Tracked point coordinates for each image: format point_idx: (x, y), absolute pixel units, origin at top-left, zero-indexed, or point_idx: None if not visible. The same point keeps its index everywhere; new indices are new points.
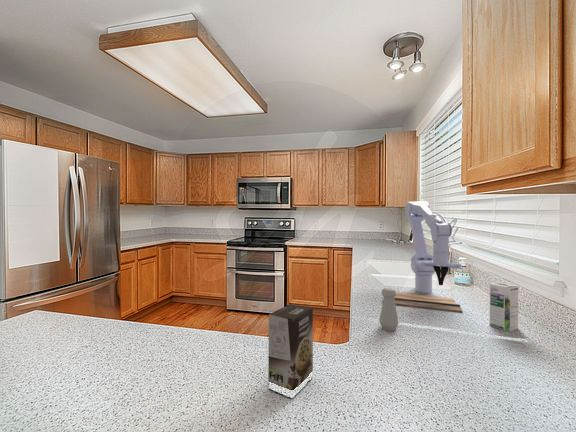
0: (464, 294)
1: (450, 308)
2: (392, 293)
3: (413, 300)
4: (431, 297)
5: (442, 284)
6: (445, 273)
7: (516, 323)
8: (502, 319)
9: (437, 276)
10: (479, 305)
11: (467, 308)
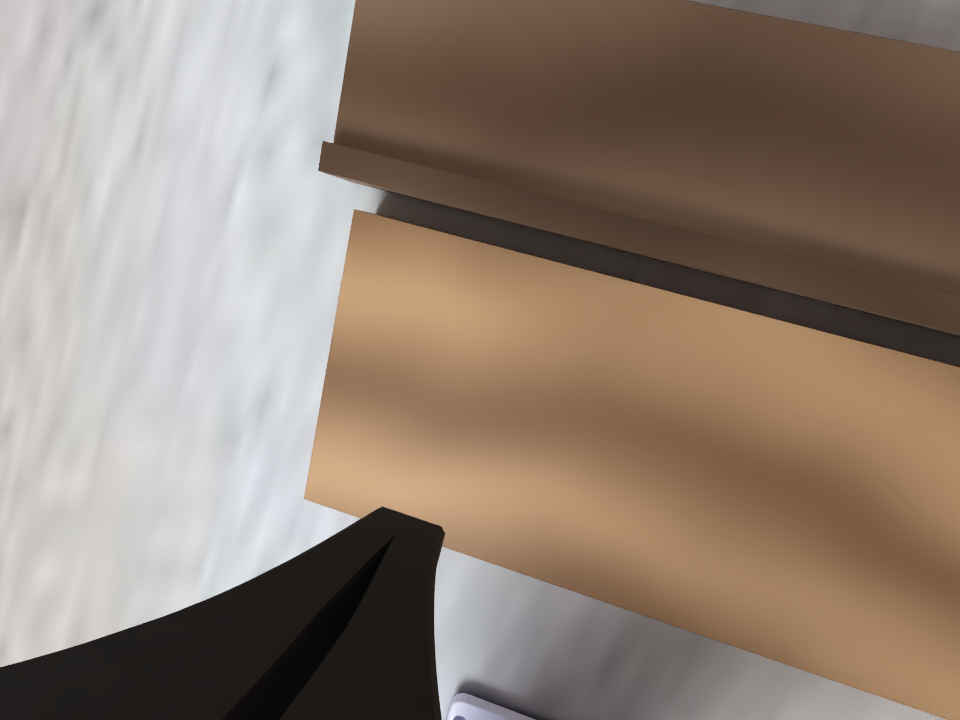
0: None
1: (487, 20)
2: None
3: (945, 293)
4: (556, 513)
5: (377, 512)
6: (55, 674)
7: None
8: None
9: (433, 681)
10: (121, 379)
11: (256, 257)
